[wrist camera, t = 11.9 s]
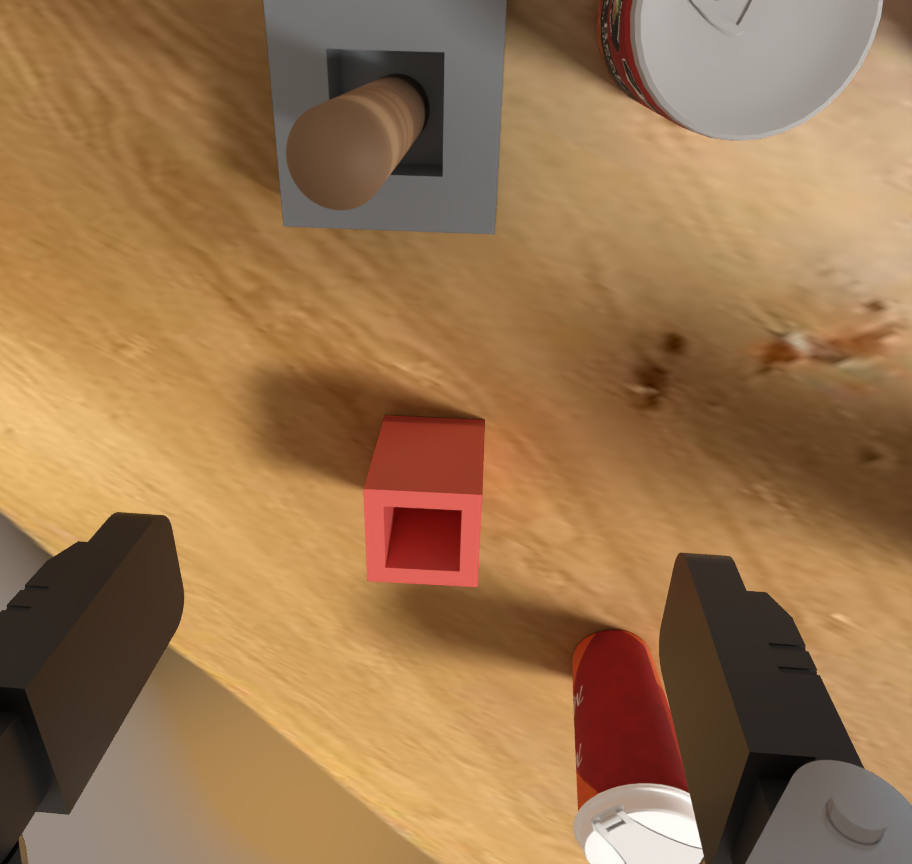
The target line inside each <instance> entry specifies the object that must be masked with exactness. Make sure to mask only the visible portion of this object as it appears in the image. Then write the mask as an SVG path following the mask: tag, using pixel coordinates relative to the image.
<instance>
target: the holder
mask: <svg viewBox="0 0 912 864" xmlns="http://www.w3.org/2000/svg"><path fill="white" fill-rule="evenodd" d="M263 3H264V14H265V25H266V36H267V47H268V58H269V70H270V81H271V92H272V103H273V114H274V125H275V136H276V148H277V159H278V170H279V181H280V192H281V203H282V215H283V226H286V227H312V228H339V229H365V230H391V231H418V232H444V233H470V234H495V224H496V204H497V184H498V165H499V145H500V126H501V106H502V87H503V67H504V47H505V28H506V8H507V0H263ZM390 74H404V75H407V76H410V77H412V78H413V79H415V80H416V81H417V82H418V83H419V84H420V85H421V86H422V87H423V89H424V90H425V92H426V94H427V97H428V100H429V106H430V113H429V119H428V122H427V124H426V126H425V128H424V130H423V131H422V132H421V134H420V135H419V136H418V138H417V139H416V140H415V142H414V143H413V144H412V146H411V147H410V149H409V150H408V151H407V153H406V154H405V155H404V157H403V158H402V159H401V161H400V162H399V163H398V165H397V166H396V167H395V169H394V170H393V171H392V173H391V174H390V176H389V177H388V178H387V180H386V181H385V182H384V184H383V185H382V186H381V188H380V189H379V190H378V192H377V193H376V194H375V195H374V196H373V197H372V198H371V199H370V200H369V201H368V202H366V203H365V204H363V205H361V206H359V207H357V208H354V209H350V210H332V209H328V208H325V207H322V206H320V205H318V204H316V203H314V202H313V201H311V200H310V199H308V198H307V197H306V196H305V195H304V194H303V193H302V192H301V191H300V190H299V188H298V187H297V185H296V184H295V182H294V181H293V179H292V177H291V174H290V172H289V169H288V165H287V159H286V145H287V140H288V136H289V133H290V130H291V128H292V127H293V125H294V123H295V122H296V120H297V119H298V118H299V117H300V116H301V115H302V114H303V113H304V112H306V111H307V110H309V109H311V108H313V107H315V106H317V105H319V104H322V103H324V102H326V101H328V100H331V99H333V98H335V97H338V96H340V95H342V94H345V93H347V92H349V91H352V90H354V89H356V88H359V87H361V86H363V85H366V84H368V83H370V82H373V81H375V80H377V79H380V78H382V77H384V76H387V75H390Z"/></svg>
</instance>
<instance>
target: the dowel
mask: <svg viewBox="0 0 912 864" xmlns="http://www.w3.org/2000/svg"><path fill="white" fill-rule="evenodd" d="M429 113H430V106H429V100H428V97H427V94H426V92H425V90H424V89H423V87H422V86H421V85H420V84H419V83H418V82H417V81H416V80H415V79H413V78H412V77H410V76H407V75H404V74H390V75H387V76H384V77H382V78H380V79H377V80H375V81H373V82H370V83H368V84H366V85H363V86H361V87H359V88H356V89H354V90H352V91H349V92H347V93H345V94H342V95H340V96H338V97H335V98H333V99H331V100H328V101H326V102H324V103H322V104H319V105H317V106H315V107H313V108H311V109H309V110H307V111H306V112H304V113H303V114H302V115H301V116H300V117H299V118H298V119H297V120H296V122H295V123H294V125H293V127H292V128H291V130H290V133H289V136H288V140H287V145H286V159H287V165H288V169H289V172H290V174H291V177H292V179H293V181H294V182H295V184H296V185H297V187H298V188H299V190H300V191H301V192H302V193H303V194H304V195H305V196H306V197H307V198H308V199H310V200H311V201H313V202H314V203H316V204H318V205H320V206H322V207H325V208H328V209H332V210H350V209H354V208H357V207H359V206H361V205H363V204H365V203H366V202H368V201H369V200H370V199H371V198H372V197H373V196H374V195H375V194H376V193H377V192H378V190H379V189H380V188H381V186H382V185H383V184H384V182H385V181H386V180H387V178H388V177H389V176H390V174H391V173H392V171H393V170H394V169H395V167H396V166H397V165H398V163H399V162H400V161H401V159H402V158H403V157H404V155H405V154H406V153H407V151H408V150H409V149H410V147H411V146H412V144H413V143H414V142H415V140H416V139H417V138H418V136H419V135H420V134H421V132H422V131H423V130H424V128H425V126H426V124H427V122H428V119H429Z"/></svg>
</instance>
